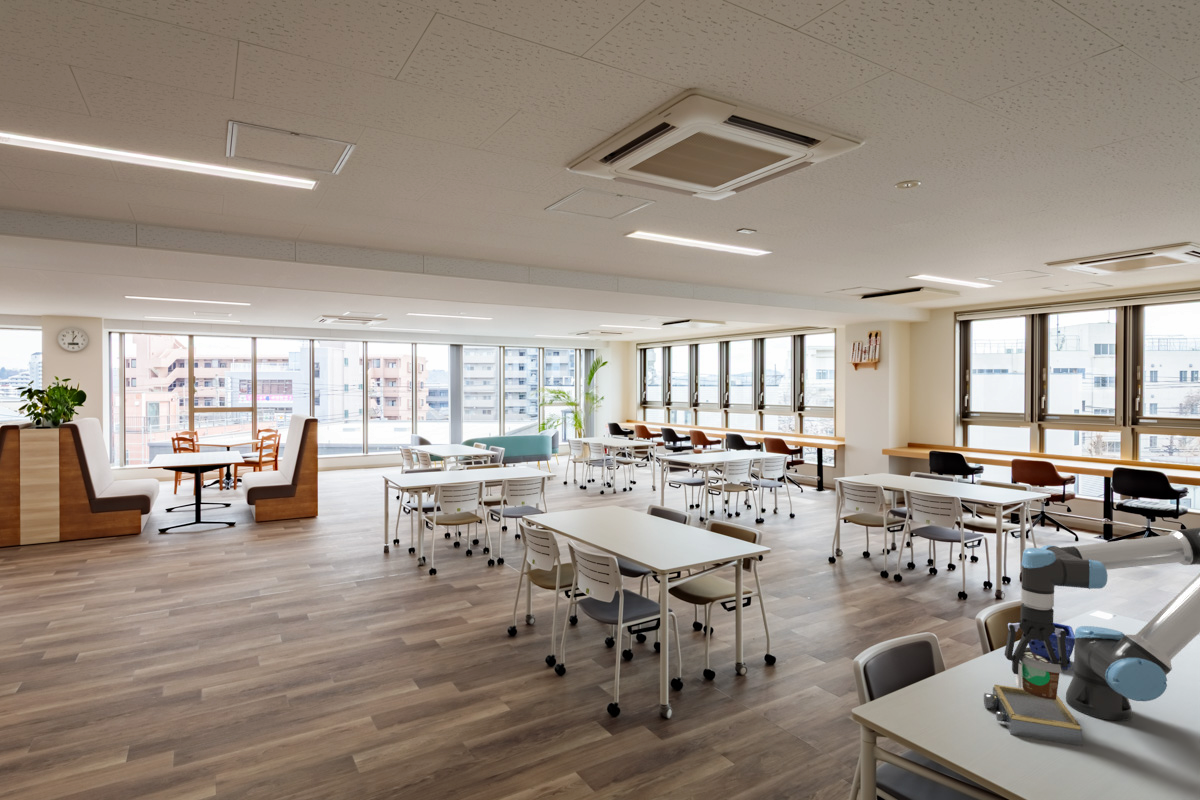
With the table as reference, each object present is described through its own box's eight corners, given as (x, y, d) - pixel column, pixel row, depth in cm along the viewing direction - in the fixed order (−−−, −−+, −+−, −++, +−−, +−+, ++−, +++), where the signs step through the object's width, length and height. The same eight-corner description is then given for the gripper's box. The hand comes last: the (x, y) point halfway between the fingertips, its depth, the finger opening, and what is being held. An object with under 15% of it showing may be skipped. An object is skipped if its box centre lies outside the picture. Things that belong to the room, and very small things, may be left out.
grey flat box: (1056, 710, 187) (1056, 692, 186) (1081, 746, 168) (1082, 726, 168) (980, 698, 193) (981, 682, 193) (997, 732, 174) (998, 713, 174)
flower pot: (1071, 659, 222) (1072, 625, 222) (1074, 673, 211) (1075, 637, 211) (1025, 651, 230) (1026, 617, 229) (1026, 664, 218) (1026, 628, 218)
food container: (1006, 681, 186) (1008, 646, 185) (1027, 681, 186) (1028, 646, 186) (1038, 702, 173) (1040, 665, 173) (1060, 702, 174) (1062, 665, 173)
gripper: (1075, 605, 179) (1072, 688, 180) (992, 597, 186) (990, 676, 186) (1085, 614, 172) (1082, 700, 173) (999, 605, 179) (996, 687, 179)
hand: (1034, 687), depth 180 cm, fingers closed on food container, 7 cm apart
